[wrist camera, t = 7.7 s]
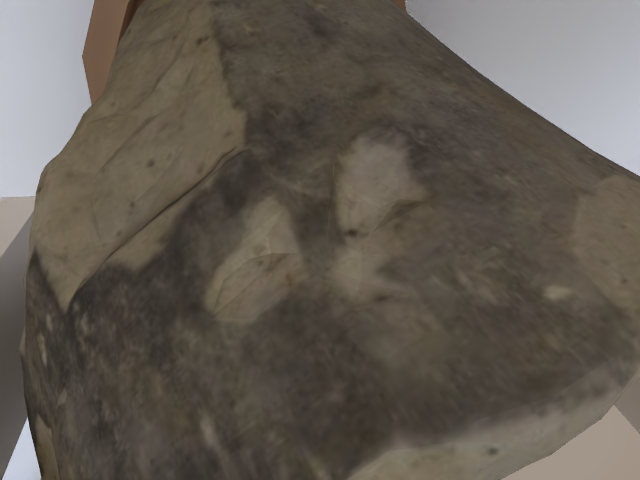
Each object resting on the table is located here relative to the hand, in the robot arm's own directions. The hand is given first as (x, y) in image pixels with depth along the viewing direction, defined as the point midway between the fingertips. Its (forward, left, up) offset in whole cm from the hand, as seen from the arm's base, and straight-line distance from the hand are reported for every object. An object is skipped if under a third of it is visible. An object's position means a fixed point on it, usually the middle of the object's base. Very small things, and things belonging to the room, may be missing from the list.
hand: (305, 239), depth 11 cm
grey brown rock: (0, 0, -1) cm, 1 cm away
